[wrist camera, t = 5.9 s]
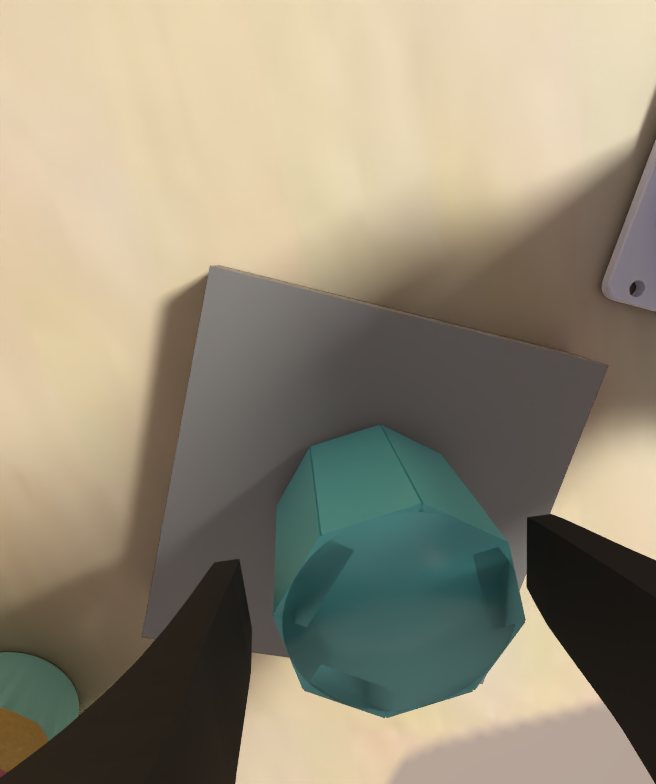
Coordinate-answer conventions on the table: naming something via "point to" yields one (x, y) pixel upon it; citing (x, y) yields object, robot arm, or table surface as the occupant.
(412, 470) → the cap
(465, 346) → the stud stand
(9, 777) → the robot arm
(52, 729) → the cupcake
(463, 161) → the table surface
